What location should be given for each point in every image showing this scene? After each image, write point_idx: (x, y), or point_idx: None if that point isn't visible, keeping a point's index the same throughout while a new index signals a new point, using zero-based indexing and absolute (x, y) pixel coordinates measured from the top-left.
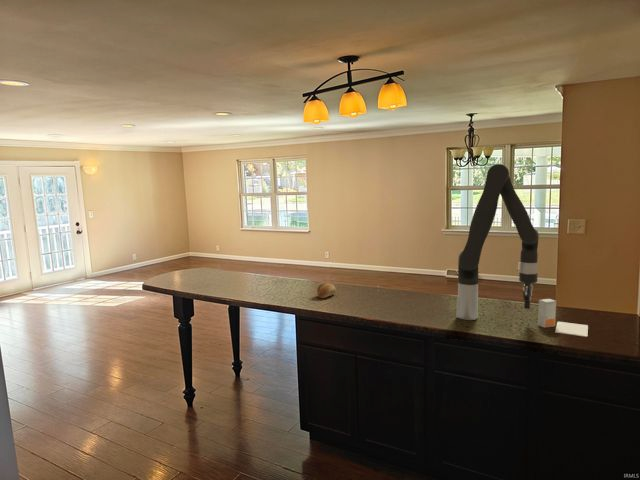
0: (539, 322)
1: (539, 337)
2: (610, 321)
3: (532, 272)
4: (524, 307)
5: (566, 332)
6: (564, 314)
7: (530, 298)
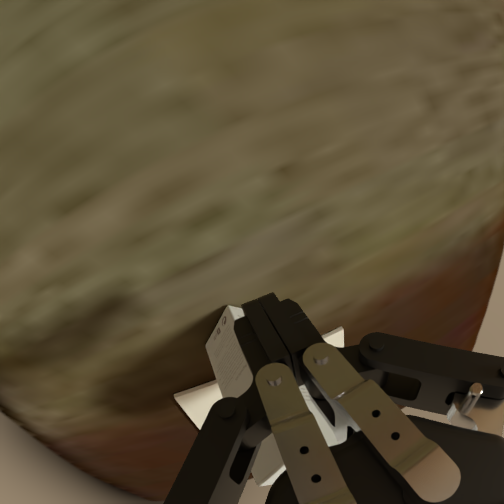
0: (225, 330)
1: (49, 388)
2: None
3: None
4: (242, 307)
5: (200, 417)
6: (449, 279)
7: (318, 404)
